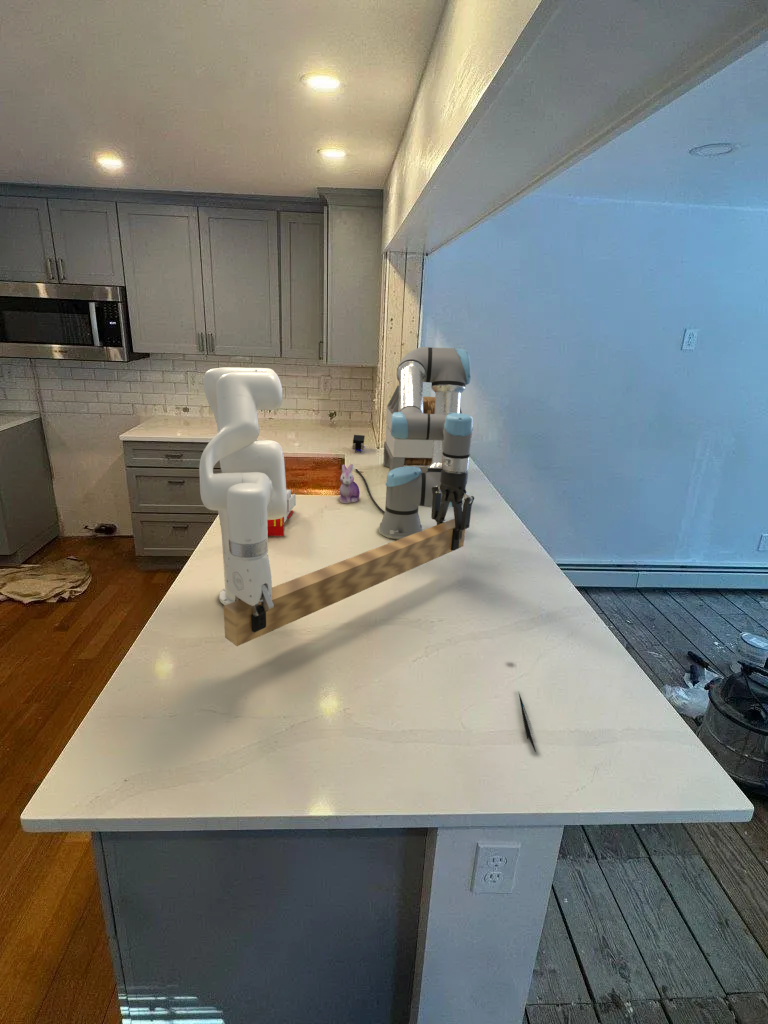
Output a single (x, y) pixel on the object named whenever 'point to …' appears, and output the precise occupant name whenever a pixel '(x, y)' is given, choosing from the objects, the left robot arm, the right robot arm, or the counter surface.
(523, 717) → the feather
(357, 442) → the figurine character
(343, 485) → the figurine
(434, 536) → the post
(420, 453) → the white storage crate
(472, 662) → the counter surface
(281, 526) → the toy
